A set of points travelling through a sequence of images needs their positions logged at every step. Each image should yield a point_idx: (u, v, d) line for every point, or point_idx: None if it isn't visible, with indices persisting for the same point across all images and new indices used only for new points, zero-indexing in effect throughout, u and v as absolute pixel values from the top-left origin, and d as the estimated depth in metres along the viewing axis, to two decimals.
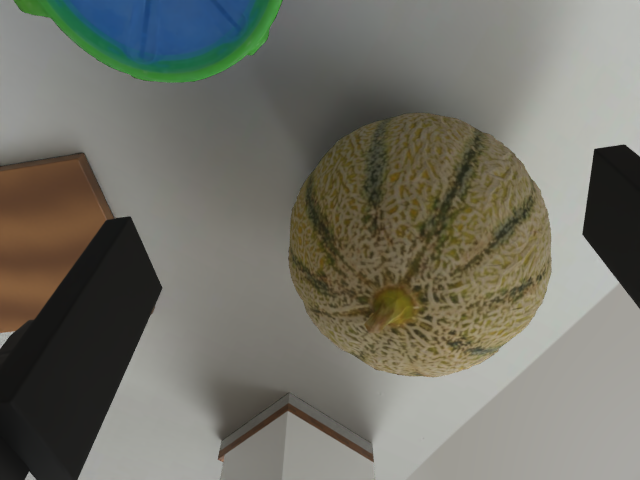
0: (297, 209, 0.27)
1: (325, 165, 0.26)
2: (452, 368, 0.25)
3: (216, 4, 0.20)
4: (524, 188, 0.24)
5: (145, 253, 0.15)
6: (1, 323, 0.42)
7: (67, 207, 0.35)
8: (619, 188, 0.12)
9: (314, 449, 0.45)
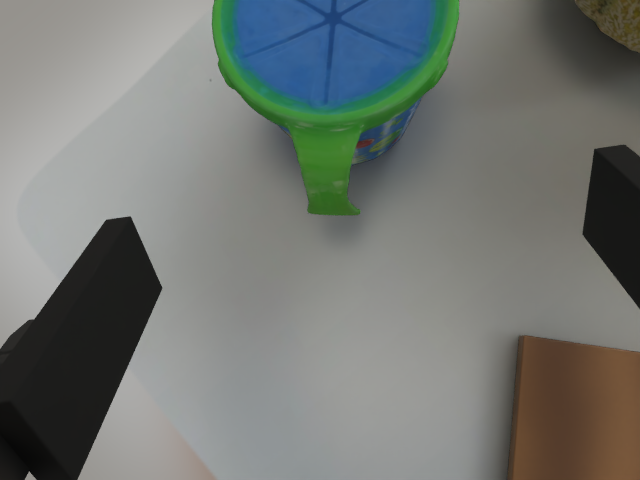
0: None
1: None
2: None
3: None
4: None
5: (145, 253, 0.15)
6: None
7: (590, 392, 0.25)
8: (619, 188, 0.12)
9: None
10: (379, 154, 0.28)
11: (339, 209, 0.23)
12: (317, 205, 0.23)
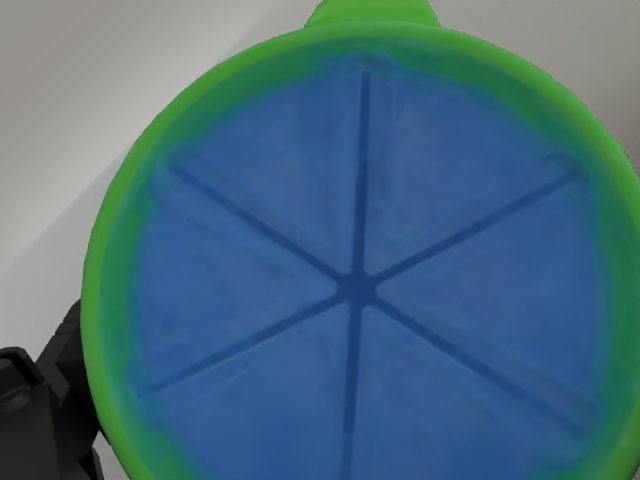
0: None
1: None
2: None
3: (507, 212, 0.09)
4: None
5: None
6: None
7: None
8: None
9: None
10: None
11: None
12: None
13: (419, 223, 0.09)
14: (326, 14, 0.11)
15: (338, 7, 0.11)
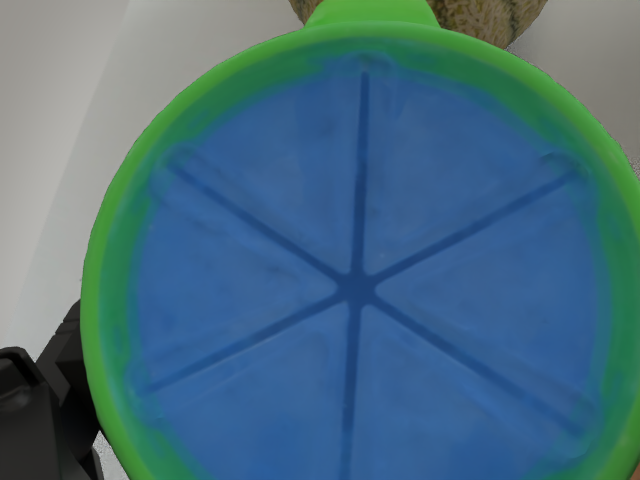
0: None
1: None
2: None
3: (506, 212, 0.09)
4: None
5: None
6: None
7: None
8: None
9: None
10: None
11: None
12: None
13: (418, 223, 0.10)
14: (325, 14, 0.11)
15: (337, 7, 0.11)
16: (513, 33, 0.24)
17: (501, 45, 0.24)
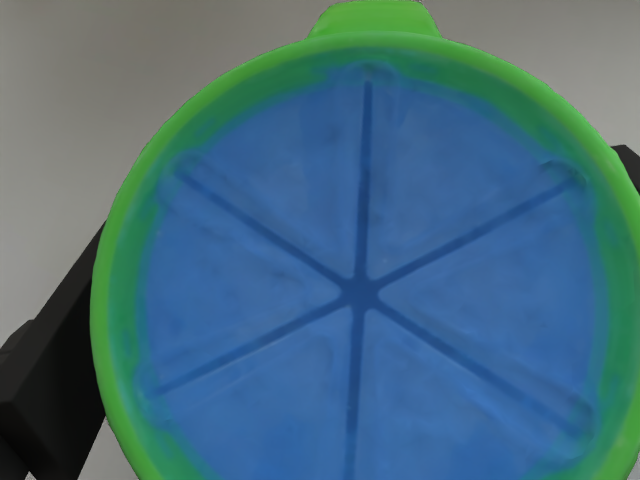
0: None
1: None
2: None
3: (506, 219, 0.09)
4: None
5: None
6: None
7: None
8: None
9: None
10: None
11: None
12: None
13: (420, 229, 0.10)
14: (328, 24, 0.11)
15: (341, 17, 0.11)
16: None
17: None
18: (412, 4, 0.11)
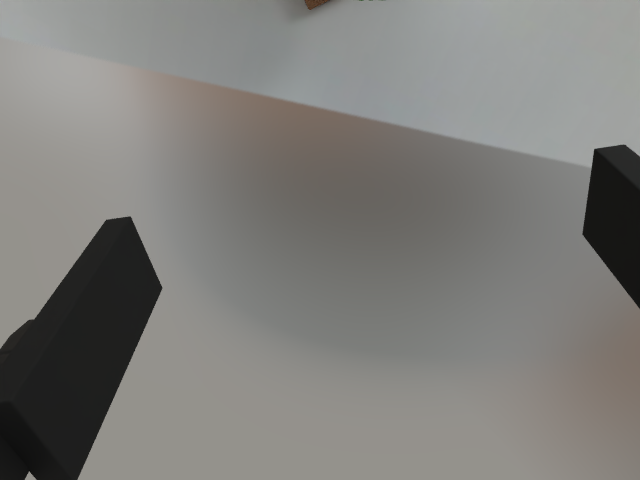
0: None
1: None
2: None
3: None
4: None
5: (145, 253, 0.15)
6: None
7: None
8: (620, 188, 0.12)
9: None
10: None
11: None
12: None
13: None
14: None
15: None
16: None
17: None
18: None
